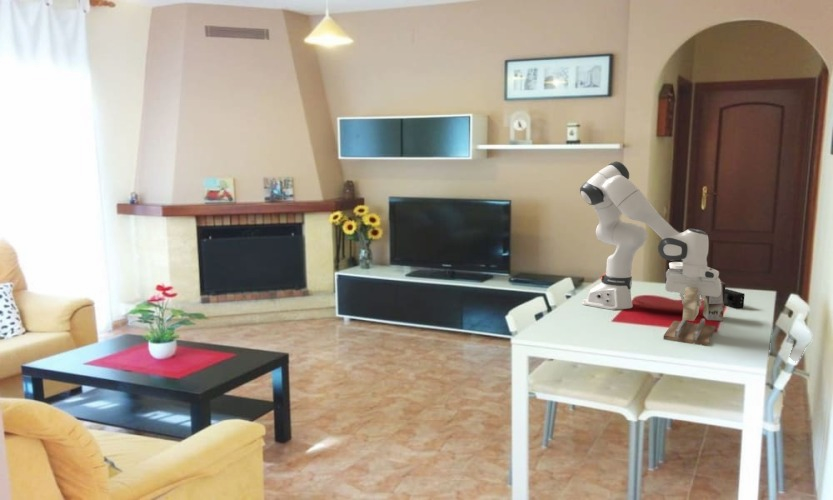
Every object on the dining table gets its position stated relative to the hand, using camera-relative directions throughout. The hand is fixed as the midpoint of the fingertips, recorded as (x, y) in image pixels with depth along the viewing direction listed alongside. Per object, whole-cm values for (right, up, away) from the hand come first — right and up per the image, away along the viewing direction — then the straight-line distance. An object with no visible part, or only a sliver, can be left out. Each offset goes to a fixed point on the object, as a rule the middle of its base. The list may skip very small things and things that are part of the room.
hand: (691, 304), depth 262 cm
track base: (0, -12, +2) cm, 12 cm away
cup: (+26, +1, +81) cm, 85 cm away
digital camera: (+37, -5, +46) cm, 59 cm away
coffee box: (+20, -8, +26) cm, 34 cm away
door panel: (0, -5, +1) cm, 4 cm away
